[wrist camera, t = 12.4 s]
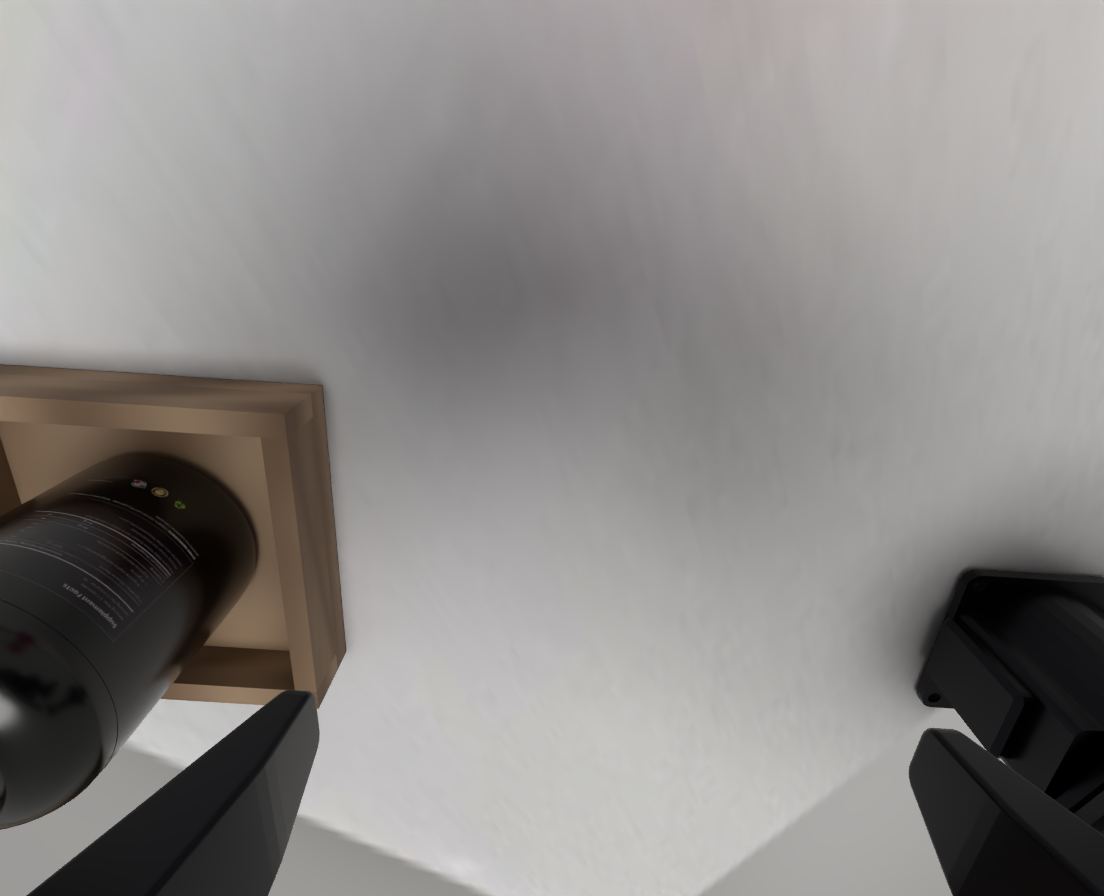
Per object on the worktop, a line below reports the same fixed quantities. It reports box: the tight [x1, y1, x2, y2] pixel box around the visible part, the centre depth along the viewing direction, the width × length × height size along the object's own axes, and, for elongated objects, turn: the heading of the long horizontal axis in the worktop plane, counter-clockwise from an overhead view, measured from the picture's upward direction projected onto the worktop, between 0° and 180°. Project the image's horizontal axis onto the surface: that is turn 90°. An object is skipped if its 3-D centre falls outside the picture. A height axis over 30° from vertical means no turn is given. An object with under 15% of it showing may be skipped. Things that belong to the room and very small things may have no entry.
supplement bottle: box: [0, 456, 256, 830], centre depth 16 cm, size 7×7×12 cm
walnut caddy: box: [0, 365, 346, 708], centre depth 21 cm, size 12×12×3 cm
